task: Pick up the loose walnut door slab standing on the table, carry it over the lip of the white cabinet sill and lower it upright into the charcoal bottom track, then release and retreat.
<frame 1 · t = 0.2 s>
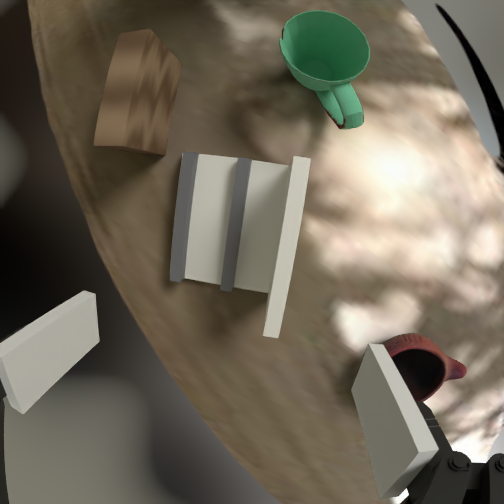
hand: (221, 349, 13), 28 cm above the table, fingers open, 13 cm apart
door slab: (160, 107, 37), on the table
track sill: (234, 222, 39), on the table
mug: (322, 90, 34), on the table
bowl: (403, 351, 41), on the table
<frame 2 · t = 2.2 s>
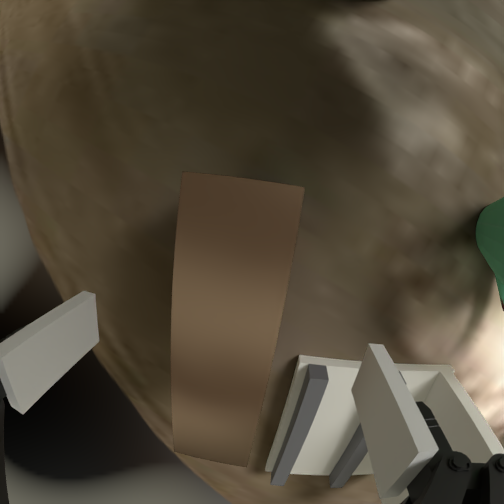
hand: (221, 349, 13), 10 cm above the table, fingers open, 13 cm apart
door slab: (251, 273, 22), on the table
track sill: (354, 425, 25), on the table
mug: (494, 255, 20), on the table
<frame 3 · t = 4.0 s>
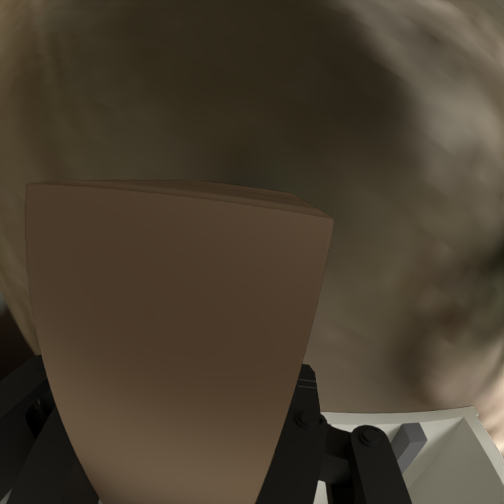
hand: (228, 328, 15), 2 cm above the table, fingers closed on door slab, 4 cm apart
door slab: (233, 314, 16), on the table, touching gripper
track sill: (360, 475, 19), on the table
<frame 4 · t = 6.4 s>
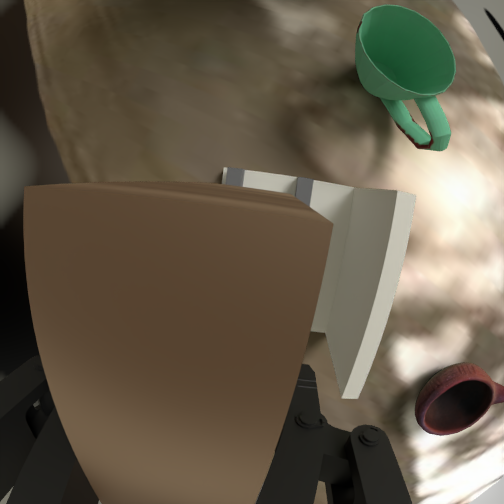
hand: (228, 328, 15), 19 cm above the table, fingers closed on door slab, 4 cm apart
door slab: (233, 315, 16), point 17 cm above the table, touching gripper
track sill: (287, 254, 33), on the table
mug: (386, 98, 28), on the table
bowl: (450, 378, 35), on the table
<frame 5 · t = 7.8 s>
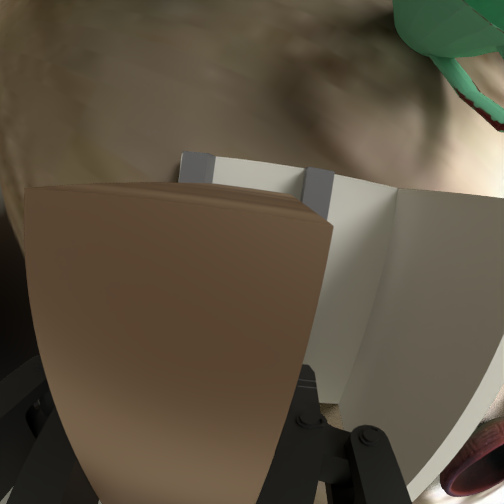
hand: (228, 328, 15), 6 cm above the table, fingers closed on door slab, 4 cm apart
door slab: (233, 315, 16), point 4 cm above the table, touching gripper
track sill: (286, 294, 20), on the table
mug: (433, 58, 15), on the table
bowl: (483, 430, 22), on the table
when the fingers open (4 cm above the table, at t = 8.7 s): door slab drops 1 cm, resting on track sill.
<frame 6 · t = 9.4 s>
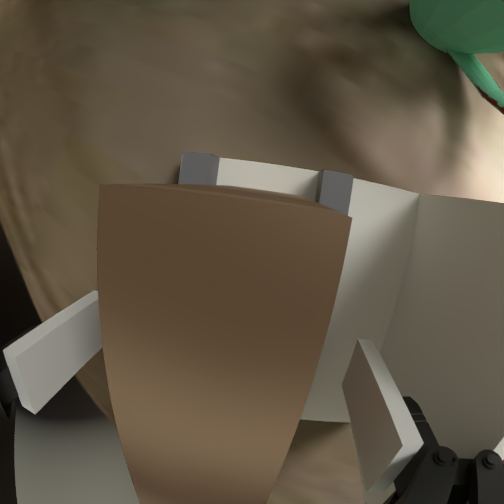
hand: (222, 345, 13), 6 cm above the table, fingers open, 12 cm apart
door slab: (248, 308, 17), point 1 cm above the table, touching track sill
track sill: (297, 309, 18), on the table
mug: (451, 54, 13), on the table
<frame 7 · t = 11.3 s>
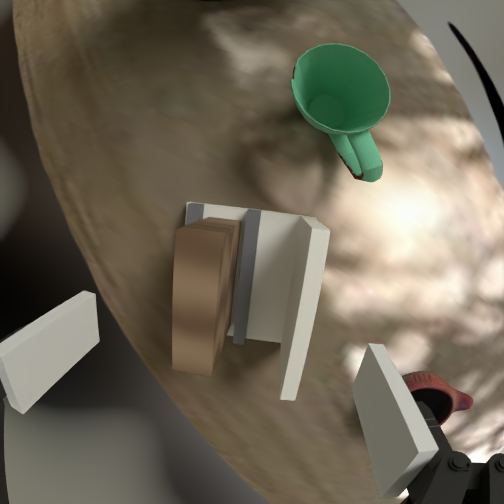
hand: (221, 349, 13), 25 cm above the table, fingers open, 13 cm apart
door slab: (219, 273, 37), point 1 cm above the table, touching track sill
track sill: (244, 274, 38), on the table
mug: (333, 128, 33), on the table
bowl: (412, 385, 40), on the table
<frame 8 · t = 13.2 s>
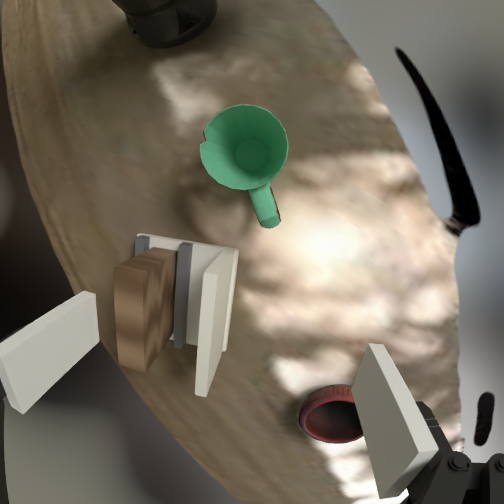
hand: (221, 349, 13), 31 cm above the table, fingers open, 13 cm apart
door slab: (163, 291, 45), point 1 cm above the table, touching track sill
track sill: (183, 292, 46), on the table
mug: (257, 171, 41), on the table
bowl: (341, 395, 48), on the table
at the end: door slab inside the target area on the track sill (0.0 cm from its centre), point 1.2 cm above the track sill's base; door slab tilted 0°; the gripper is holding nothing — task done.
